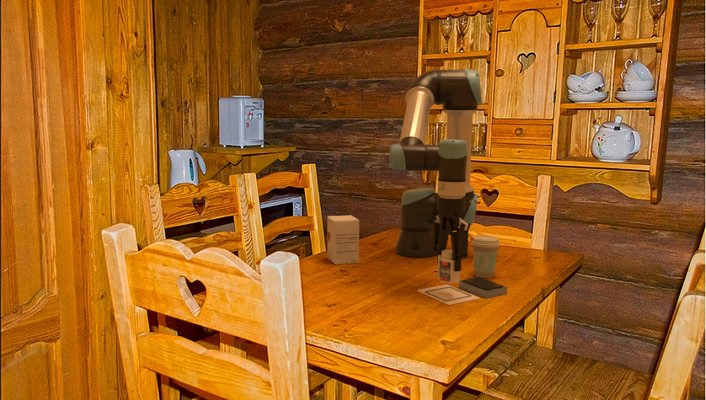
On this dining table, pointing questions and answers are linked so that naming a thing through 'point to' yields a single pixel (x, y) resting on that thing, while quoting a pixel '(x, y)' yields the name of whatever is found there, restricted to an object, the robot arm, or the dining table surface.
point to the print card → (448, 294)
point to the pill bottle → (445, 266)
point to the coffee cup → (485, 255)
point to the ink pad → (483, 287)
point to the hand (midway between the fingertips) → (448, 279)
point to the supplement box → (343, 239)
